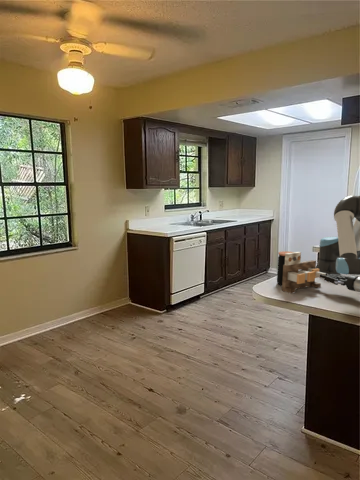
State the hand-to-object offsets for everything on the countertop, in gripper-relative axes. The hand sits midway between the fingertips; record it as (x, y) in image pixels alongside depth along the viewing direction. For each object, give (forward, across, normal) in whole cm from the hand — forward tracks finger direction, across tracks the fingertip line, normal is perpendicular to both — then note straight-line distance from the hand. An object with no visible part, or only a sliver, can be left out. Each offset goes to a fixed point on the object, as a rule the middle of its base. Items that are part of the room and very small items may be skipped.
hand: (316, 274), depth 193 cm
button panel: (+3, -8, -8) cm, 11 cm away
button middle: (+1, -8, -2) cm, 8 cm away
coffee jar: (+13, -8, -8) cm, 17 cm away
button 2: (+4, 0, -2) cm, 5 cm away
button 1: (+1, -16, -2) cm, 16 cm away
